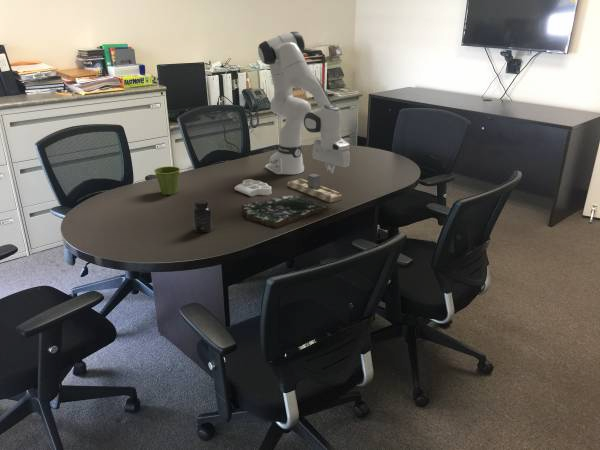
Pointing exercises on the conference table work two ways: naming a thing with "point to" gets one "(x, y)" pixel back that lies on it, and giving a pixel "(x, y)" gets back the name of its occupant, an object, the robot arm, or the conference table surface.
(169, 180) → the plant pot
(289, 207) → the floral canvas painting
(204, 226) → the supplement bottle
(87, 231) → the conference table surface
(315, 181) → the grey rectangular block
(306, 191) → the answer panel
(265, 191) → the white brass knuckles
